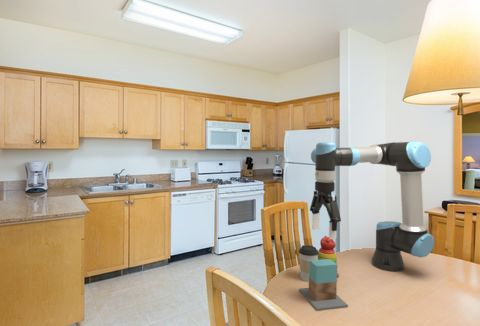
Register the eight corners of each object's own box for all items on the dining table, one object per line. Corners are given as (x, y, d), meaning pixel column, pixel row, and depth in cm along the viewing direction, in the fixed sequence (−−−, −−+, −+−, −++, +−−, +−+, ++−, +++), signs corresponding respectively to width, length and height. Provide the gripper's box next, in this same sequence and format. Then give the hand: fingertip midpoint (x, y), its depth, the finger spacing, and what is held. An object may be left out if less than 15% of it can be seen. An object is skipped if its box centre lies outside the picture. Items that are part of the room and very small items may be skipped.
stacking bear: (339, 278, 135) (340, 241, 134) (317, 276, 137) (317, 239, 136) (336, 269, 146) (337, 234, 145) (315, 267, 148) (316, 233, 147)
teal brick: (329, 275, 120) (329, 258, 120) (336, 281, 115) (337, 264, 114) (309, 277, 118) (309, 260, 118) (316, 283, 113) (316, 266, 112)
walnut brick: (328, 291, 121) (328, 275, 120) (336, 299, 115) (336, 281, 115) (308, 293, 119) (308, 277, 118) (315, 301, 113) (315, 283, 113)
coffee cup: (320, 277, 136) (321, 246, 136) (314, 284, 129) (314, 251, 128) (302, 272, 141) (303, 242, 141) (295, 279, 134) (295, 247, 133)
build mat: (326, 287, 126) (326, 285, 126) (347, 307, 110) (347, 305, 110) (299, 290, 123) (299, 288, 123) (316, 310, 108) (316, 308, 108)
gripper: (302, 178, 126) (301, 226, 127) (332, 185, 102) (331, 244, 103) (318, 178, 128) (317, 225, 129) (351, 184, 103) (350, 242, 104)
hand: (323, 233), depth 116 cm, fingers open, 13 cm apart
